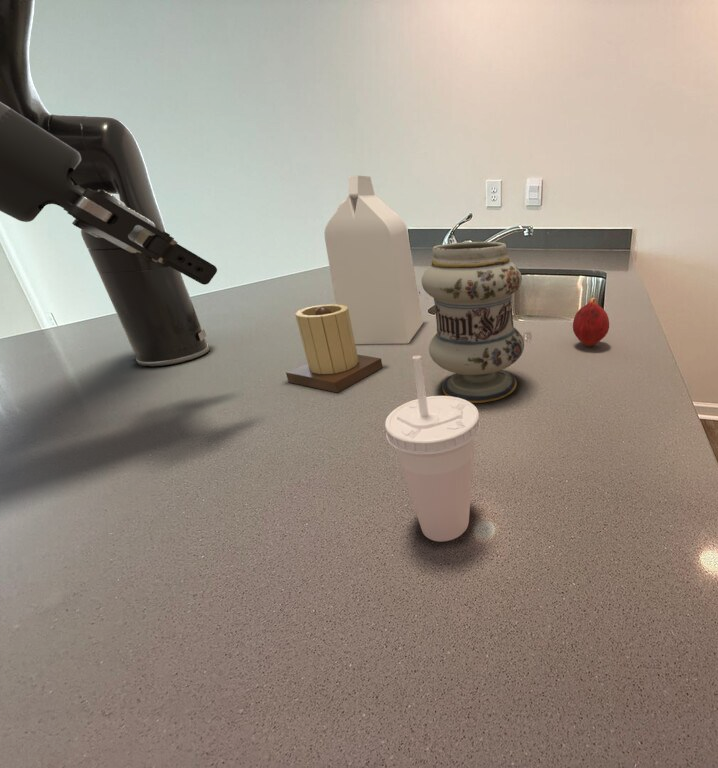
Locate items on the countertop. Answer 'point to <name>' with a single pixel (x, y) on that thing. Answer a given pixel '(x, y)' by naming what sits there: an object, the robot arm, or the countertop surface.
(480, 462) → the countertop surface
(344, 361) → the wooden slatted cup
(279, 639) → the countertop surface
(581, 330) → the onion
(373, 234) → the milk
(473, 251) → the apothecary jar
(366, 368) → the stand
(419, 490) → the smoothie
